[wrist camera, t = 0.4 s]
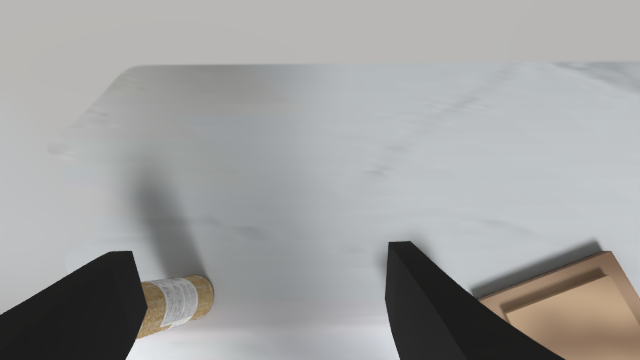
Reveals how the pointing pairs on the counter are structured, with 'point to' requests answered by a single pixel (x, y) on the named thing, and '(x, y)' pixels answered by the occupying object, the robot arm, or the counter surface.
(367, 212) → the counter surface
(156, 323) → the sprinkles bottle
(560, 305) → the walnut base
